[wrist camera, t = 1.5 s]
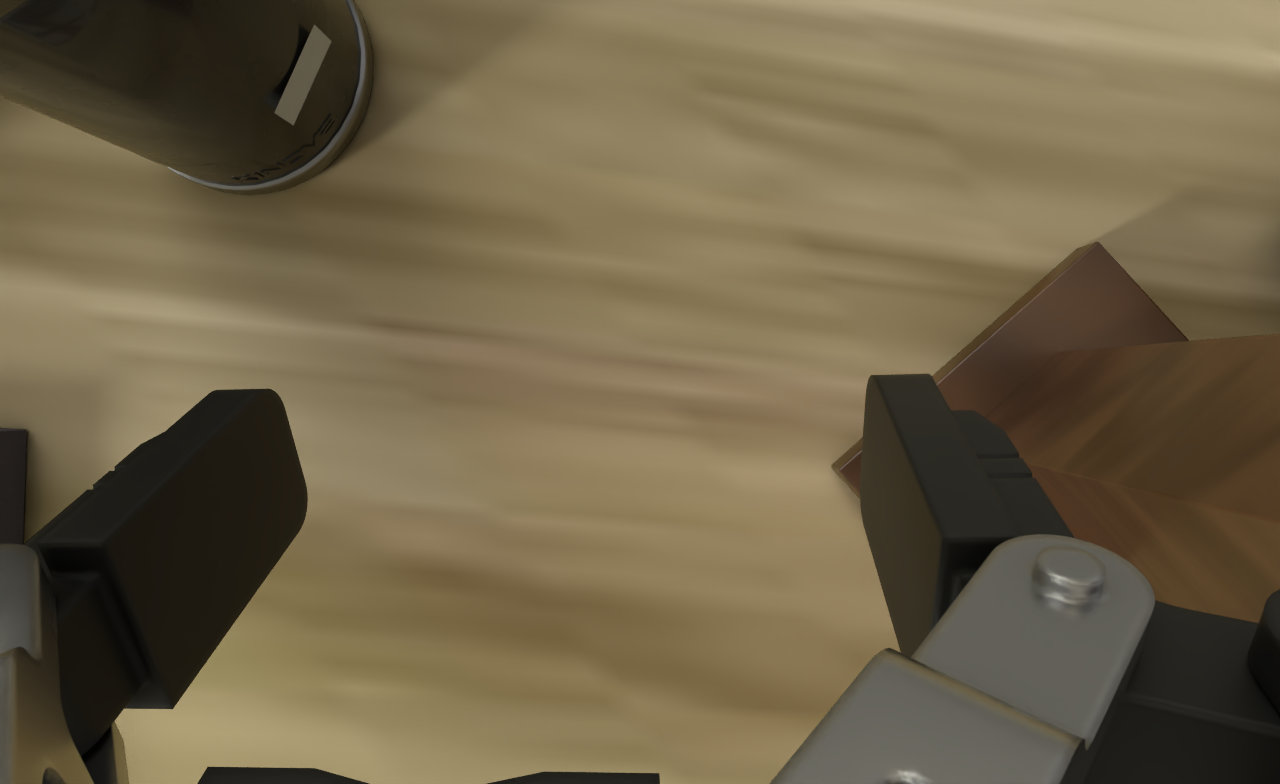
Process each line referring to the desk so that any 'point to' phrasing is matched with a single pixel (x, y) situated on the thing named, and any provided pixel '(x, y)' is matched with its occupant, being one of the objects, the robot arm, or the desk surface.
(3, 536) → the notebook
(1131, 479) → the stand
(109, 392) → the desk surface
